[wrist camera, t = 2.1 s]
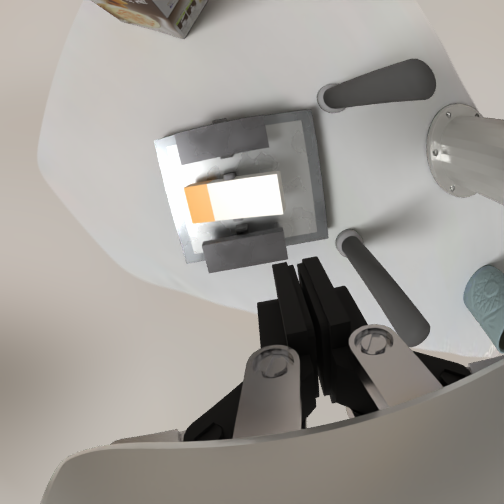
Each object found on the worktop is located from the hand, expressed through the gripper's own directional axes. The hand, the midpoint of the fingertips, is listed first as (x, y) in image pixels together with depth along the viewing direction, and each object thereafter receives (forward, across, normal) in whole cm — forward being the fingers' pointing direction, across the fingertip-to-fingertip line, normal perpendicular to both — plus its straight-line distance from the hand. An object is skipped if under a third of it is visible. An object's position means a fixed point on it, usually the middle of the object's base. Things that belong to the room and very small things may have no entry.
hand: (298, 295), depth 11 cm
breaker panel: (+23, +2, 0) cm, 23 cm away
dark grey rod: (+23, -9, +9) cm, 26 cm away
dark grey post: (+23, -9, -8) cm, 26 cm away
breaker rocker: (+18, +3, 0) cm, 18 cm away
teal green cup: (+23, -34, +22) cm, 47 cm away
